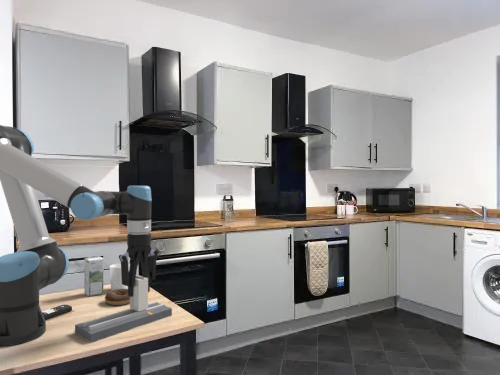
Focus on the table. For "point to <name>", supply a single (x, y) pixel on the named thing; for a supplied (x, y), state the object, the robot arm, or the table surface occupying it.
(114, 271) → the white cup
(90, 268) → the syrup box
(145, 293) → the fader knob
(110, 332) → the slider board
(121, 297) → the donut
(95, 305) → the table surface
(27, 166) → the robot arm
